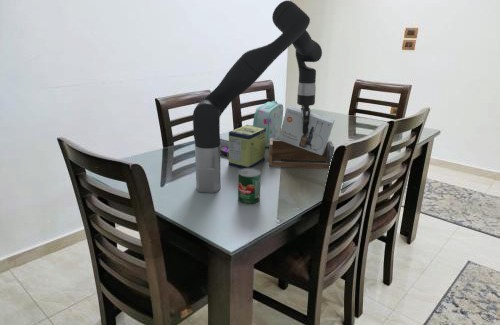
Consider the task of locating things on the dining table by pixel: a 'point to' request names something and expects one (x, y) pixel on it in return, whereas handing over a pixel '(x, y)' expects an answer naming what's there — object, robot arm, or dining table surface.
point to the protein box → (247, 146)
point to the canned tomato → (249, 186)
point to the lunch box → (269, 120)
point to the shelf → (298, 155)
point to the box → (224, 148)
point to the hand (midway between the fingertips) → (304, 130)
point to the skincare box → (316, 130)
